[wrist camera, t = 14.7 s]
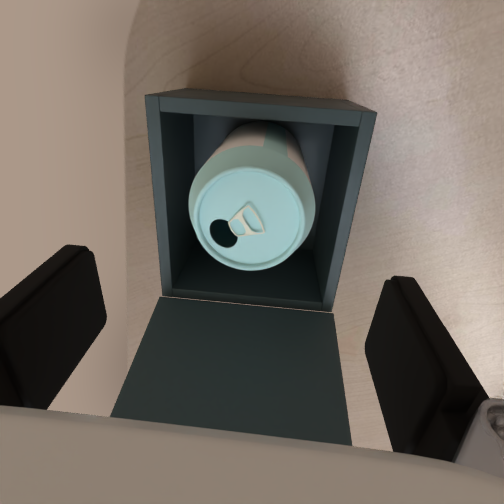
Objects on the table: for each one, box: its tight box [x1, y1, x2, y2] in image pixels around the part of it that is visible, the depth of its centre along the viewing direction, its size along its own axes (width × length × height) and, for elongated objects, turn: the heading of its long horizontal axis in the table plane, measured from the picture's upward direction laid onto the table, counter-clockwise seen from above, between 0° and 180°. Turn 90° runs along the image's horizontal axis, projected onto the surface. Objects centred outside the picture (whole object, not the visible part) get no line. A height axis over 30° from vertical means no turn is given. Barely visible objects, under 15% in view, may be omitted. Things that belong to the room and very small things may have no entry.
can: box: [189, 121, 315, 271], centre depth 22 cm, size 7×7×12 cm
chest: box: [145, 88, 377, 312], centre depth 25 cm, size 14×13×9 cm
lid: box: [110, 297, 352, 446], centre depth 19 cm, size 14×13×5 cm
